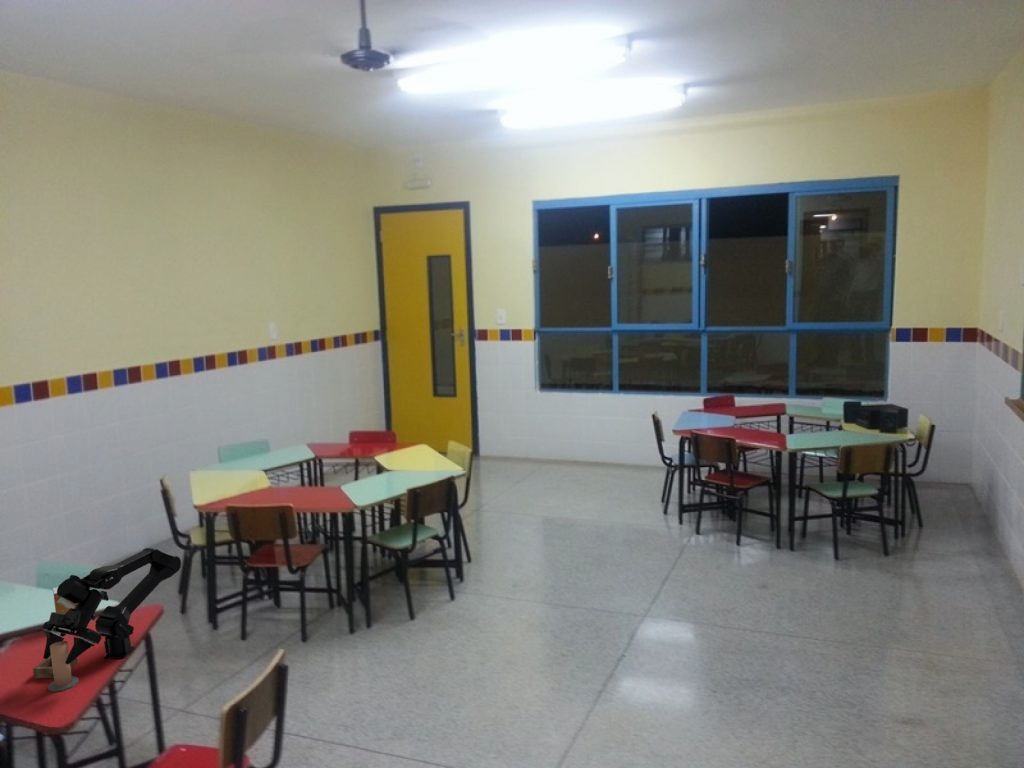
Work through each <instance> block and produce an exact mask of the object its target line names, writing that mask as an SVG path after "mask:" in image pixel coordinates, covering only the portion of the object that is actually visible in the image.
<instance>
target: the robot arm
mask: <svg viewBox="0 0 1024 768" xmlns="http://www.w3.org/2000/svg"><path fill="white" fill-rule="evenodd" d="M147 565H150V568H149V572H148V573H147V574H146V575H145V576H144V578H142V580H140V582H138V584H137V585H135V587H134V588H133V589H131V591H130V592H129V593H128V594H127V595H126V596H125V597H124V598H123V600H121V602H119V604H117V605H116V606H112V605H107V606H106V607H105V608H104V610H103V611H101V613H100V614H98V615H97V616H98V617H97V619H96V616H95V615H94V614H95V612H96V611H97V609H98V607H99V605H100V604H101V603H102V601H109V600H110V599H109V596H108V592H107V591H108V590H111V589H113V588H114V587H115V586H116V585H118V584H119V583H120V582H121V580H122V578H124V577H126V576H127V575H129V574H131V573H133V572H134V571H137V570H138V569H141V568H143V567H144V566H147ZM181 568H182V561H181V558H180V556H178V555H172V554H171V555H170V554H168V553H165V552H163V551H161V550H159V549H158V548H151V547H145V548H143V549H142V550H141V551H139V552H137V553H135V554H133V555H131V556H128V557H127V558H125V559H123V560H121V561H119V562H117V563H115V564H110V565H105V566H101V567H97V568H94V569H92V570H91V571H90V572H89V574H87V575H86V576H84V577H82V578H80V577H79V576H78V575H75V574H71V575H70V576H69V577H68V578H67V579H65V580H63V581H62V582H61V583H60V584H59V585H58V589H57V595H58V596H60V597H62V598H64V599H66V600H68V601H70V602H72V603H74V604H75V603H77V604H76V606H75V608H74V609H73V608H70V609H69V610H68V611H67V613H65V612H56V611H55V612H54V611H53V612H50V615H49V619H48V620H46V621H45V622H44V623H43V625H42V626H41V629H42V632H43V633H44V634H45V636H46V642H45V646H44V652H43V657H42V658H43V659H44V660H45V659H47V658H48V657H49V656H50V655H51V652H50V645H52V644H53V643H56V642H59V641H65V637H64V636H66V635H68V636H73V645H72V647H71V649H70V651H69V655H68V657H67V659H66V662H65V663H66V664H70V663H71V662H72V661H73V660H75V659H76V658H77V659H78V657H79V656H81V655H83V653H85V652H86V651H87V650H89V649H90V648H92V647H95V645H100V644H99V643H100V642H101V641H102V637H104V642H103V643H104V651H105V655H104V656H103V657H104V659H124V658H126V657H127V656H128V655H129V654H130V653H131V652H132V651H133V650H134V649H135V646H132V643H131V636H132V635H133V634H134V630H135V629H134V626H133V625H132V624H131V625H130V624H129V623H130V619H131V615H132V614H133V613H134V612H135V610H137V608H138V607H139V606H140V605H141V604H142V603H143V602H144V601H145V600H146V599H147V597H148V596H149V595H150V594H152V592H153V591H154V590H155V589H156V588H157V587H158V586H159V585H160V583H162V582H163V581H166V580H167V579H170V578H172V577H173V576H174V575H175V574H177V573H178V572H179V571H180V570H181ZM105 590H107V591H105ZM95 619H96V620H95ZM90 621H95V625H94V626H95V627H94V628H95V630H94V629H92V628H87V627H88V625H89V624H90Z"/></svg>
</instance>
